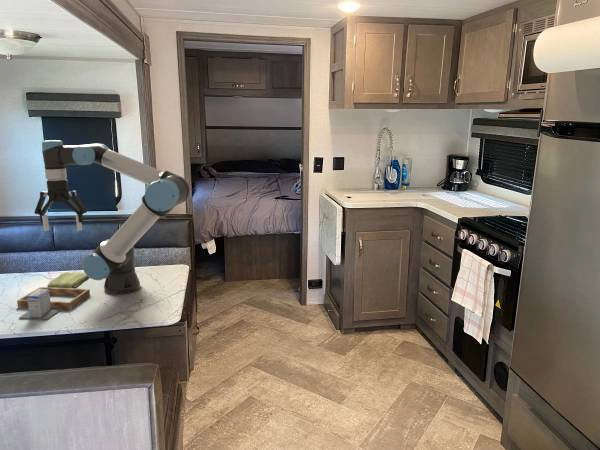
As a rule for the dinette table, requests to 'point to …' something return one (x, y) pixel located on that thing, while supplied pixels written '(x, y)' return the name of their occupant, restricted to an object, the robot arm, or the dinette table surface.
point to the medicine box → (39, 302)
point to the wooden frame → (80, 294)
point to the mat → (44, 317)
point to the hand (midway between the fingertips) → (63, 230)
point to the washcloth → (68, 280)
